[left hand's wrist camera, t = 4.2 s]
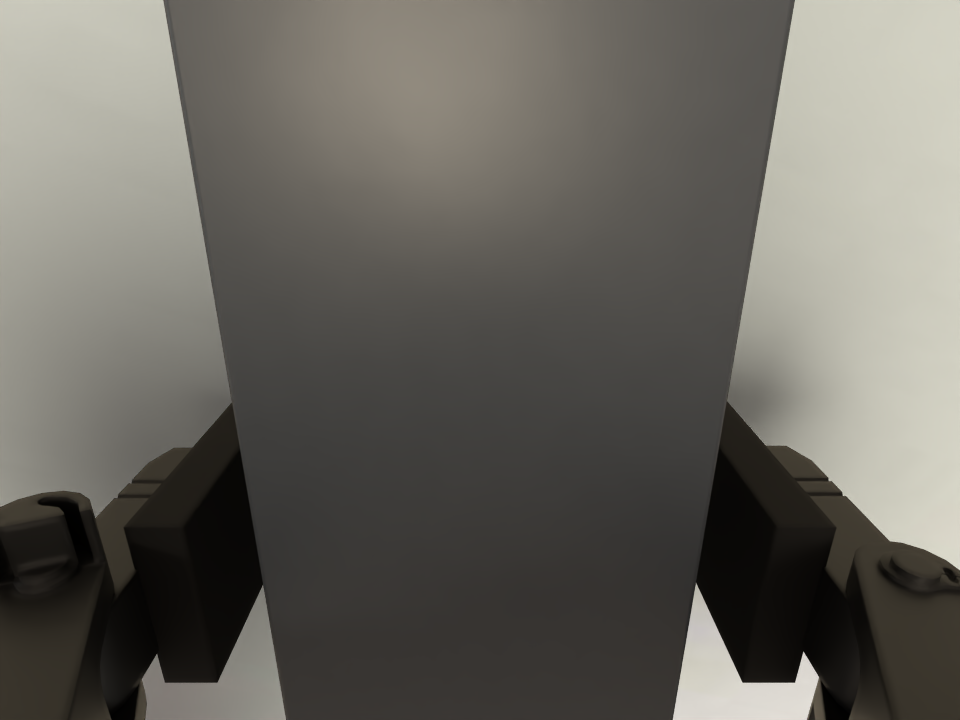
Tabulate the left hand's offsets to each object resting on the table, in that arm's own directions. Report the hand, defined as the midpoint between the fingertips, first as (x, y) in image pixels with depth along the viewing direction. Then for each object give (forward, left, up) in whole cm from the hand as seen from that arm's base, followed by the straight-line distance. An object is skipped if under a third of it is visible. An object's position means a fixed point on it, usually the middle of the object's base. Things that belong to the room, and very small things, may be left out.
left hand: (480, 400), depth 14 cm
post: (+10, +32, -1) cm, 33 cm away
